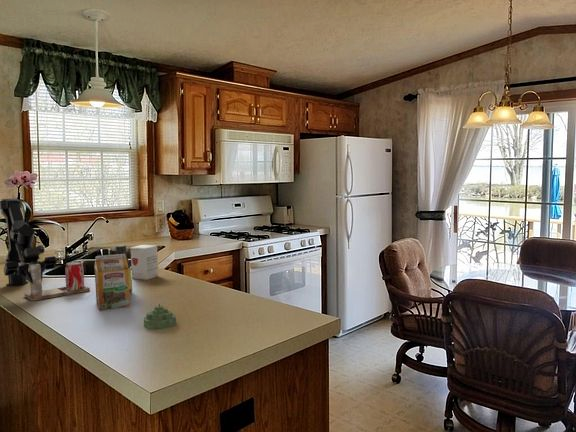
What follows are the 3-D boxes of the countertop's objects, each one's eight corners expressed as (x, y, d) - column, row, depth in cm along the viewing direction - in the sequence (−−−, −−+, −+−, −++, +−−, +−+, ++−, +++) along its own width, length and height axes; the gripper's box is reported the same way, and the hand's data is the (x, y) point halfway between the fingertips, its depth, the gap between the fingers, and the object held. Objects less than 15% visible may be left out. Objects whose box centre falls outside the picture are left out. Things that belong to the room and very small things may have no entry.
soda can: (80, 293, 197) (78, 264, 196) (63, 293, 197) (61, 264, 196) (87, 289, 204) (85, 261, 203) (71, 289, 204) (69, 261, 203)
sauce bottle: (135, 292, 197) (133, 244, 196) (125, 295, 191) (123, 247, 190) (122, 291, 200) (120, 244, 198) (112, 294, 194) (110, 246, 192)
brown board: (32, 301, 185) (30, 267, 184) (24, 296, 192) (22, 264, 191) (89, 290, 201) (88, 259, 199) (80, 286, 208) (78, 256, 207)
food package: (99, 310, 171) (96, 258, 169) (96, 303, 180) (93, 254, 179) (130, 306, 176) (127, 255, 174) (125, 300, 185) (123, 251, 183)
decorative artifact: (142, 322, 156) (146, 332, 147) (141, 302, 156) (145, 309, 147) (173, 318, 160) (178, 327, 151) (172, 298, 160) (177, 305, 151)
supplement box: (130, 278, 224) (129, 247, 222) (143, 274, 232) (142, 244, 230) (146, 280, 220) (145, 248, 219) (158, 276, 228) (157, 245, 227)
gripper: (3, 241, 185) (14, 273, 178) (54, 236, 198) (65, 266, 191) (-1, 259, 191) (9, 291, 184) (48, 253, 204) (59, 282, 197)
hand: (36, 282), depth 189 cm, fingers closed on brown board, 3 cm apart
